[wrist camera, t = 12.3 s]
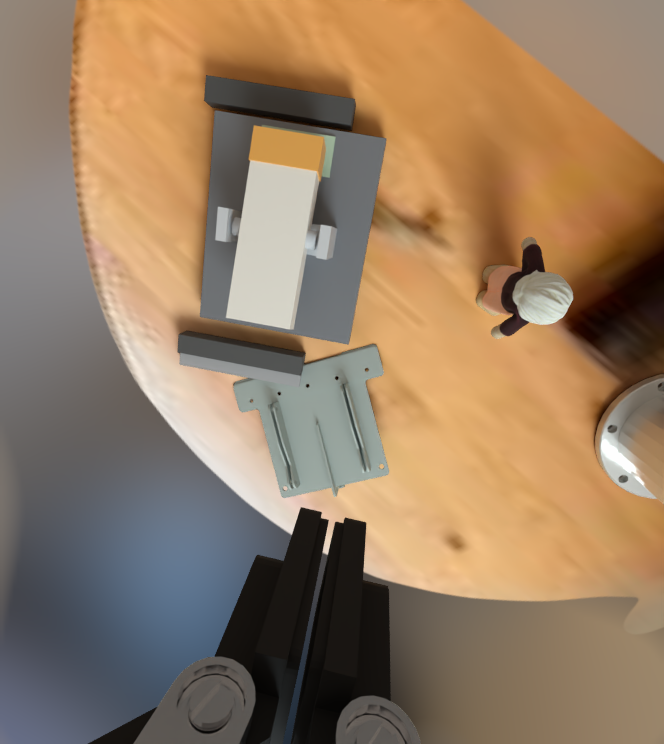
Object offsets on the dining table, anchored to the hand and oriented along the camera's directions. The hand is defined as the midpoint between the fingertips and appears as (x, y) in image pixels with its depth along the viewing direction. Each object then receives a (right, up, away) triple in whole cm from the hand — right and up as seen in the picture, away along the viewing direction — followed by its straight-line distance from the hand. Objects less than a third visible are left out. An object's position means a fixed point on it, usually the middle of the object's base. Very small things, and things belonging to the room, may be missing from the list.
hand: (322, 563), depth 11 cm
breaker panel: (-4, +17, +28) cm, 33 cm away
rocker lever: (-4, +16, +23) cm, 28 cm away
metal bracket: (-1, 0, +33) cm, 33 cm away
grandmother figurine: (+15, +13, +27) cm, 34 cm away
